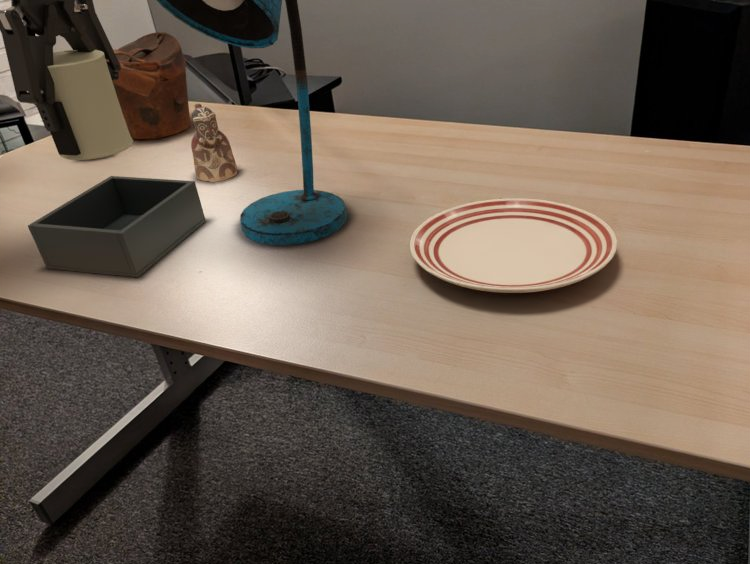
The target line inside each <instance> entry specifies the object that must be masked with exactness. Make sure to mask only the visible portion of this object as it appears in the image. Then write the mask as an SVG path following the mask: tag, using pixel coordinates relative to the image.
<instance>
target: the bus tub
mask: <svg viewBox="0 0 750 564" xmlns="http://www.w3.org/2000/svg"><path fill="white" fill-rule="evenodd" d="M206 220H207V219H206V217H205V213H204V210H203V206H202V202H201V198H200V196H199V191H198V187H197V184H196V181H195V180H183V179H167V178H166V179H165V178H153V177H152V178H150V177H137V176H136V177H134V176H119V175H118V176H117V175H110V176H108V177H107V178H105V179H103V180H102V181H100V182H98V183H97V184H95V185H93V186H92V187H89V188H88V189H87V190H85V191H83V192H81V193H80V194H78V195H77V196H75V197H73V198H72V199H70V200H68V201H67V202H65V203H63V204H61V205H60V206H58V207H56V208H55V209H53V210H52V211H49V212H48V213H46V214H44V215H43V216H41V217H40V218H38V219H36V220H34V221H33V222H31V223H30V224H28V225H27V228H28V230H29V232H30V235H31V236H32V239H33V241H34V243H35V245H36V247H37V250H38V252H39V254H40V257H41V258H42V261H43V263H44V265H45V268H46V269H49V270H58V271H68V272H69V271H70V272H77V273H78V272H79V273H89V274H101V275H109V276H120V277H127V278H129V277H131V278H140V277H141V276H142V275H143V274H144V273H146V272H147V271H149V269H150V268H151V267H152V266H154V265H155V264H156V263H158V262H159V261H160V260H161V259H162V258H164V257H165V256H166V255H167V254H168V253H170V252H171V251H172V250H173V249H174V248H175V247H177V246H178V245H179V244H181V243H182V242H183V241H184V240H185V239H186V238H188V237H189V236H190V235H191V234H192V233H194V232H195V231H196V230H197V229H198V228H200V227H201V226H203V224H204V223H206Z"/></svg>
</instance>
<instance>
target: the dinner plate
mask: <svg viewBox="0 0 750 564" xmlns="http://www.w3.org/2000/svg"><path fill="white" fill-rule="evenodd" d="M617 248H618V240H617V236H616V233H615V232H614V230H613V228H611V227H610V226H609V224H608V223H607V222H605V221H604V220H602V219H601V218H600V217H599V216H597V215H595V214H593V213H592V212H589V211H587V210H584V209H582V208H579V207H576V206H573V205H569V204H566V203H563V202H556V201H552V200H551V201H550V200H545V199H537V198H523V197H521V198H519V197H518V198H495V199H486V200H478V201H473V202H469V203H464V204H460V205H457V206H452V207H450V208H447V209H445V210H442V211H440V212H438V213H436V214H433V215H432V216H430V217H428V218H427V219H425V221H423V222H422V223H420V224H419V225H418V226H417V227H416V229H415V230H414V231H413V233H412V235H411V238H410V240H409V251H410V254H411V257H412V258H413V259H414V261H415V262H416V263H417V264H418V265H419V267H421V268H422V269H423V270H424V271H426V272H427V273H429V274H430V275H432V276H435V277H436V278H437V279H440V280H442V281H444V282H447V283H449V284H452V285H456V286H459V287H461V288H466V289H470V290H476V291H480V292H481V291H482V292H490V293H501V294H503V293H504V294H523V293H525V294H526V293H537V292H544V291H549V290H555V289H560V288H563V287H566V286H570V285H572V284H575V283H578V282H581V281H582V280H585V279H587V278H589V277H591V276H593V275H595V274H596V273H598V272H600V271H601V270H602V269H604V268H605V267H606V266H607V265H608V264H609V263H610V262H611V261H612V259H613V258H614V256H615V254H616V252H617Z"/></svg>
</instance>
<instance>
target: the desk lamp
mask: <svg viewBox="0 0 750 564" xmlns="http://www.w3.org/2000/svg"><path fill="white" fill-rule="evenodd" d="M284 1H285V8H286V13H287V14H286V15H287V20H288V26H289V27H288V28H289V34H290V42H291V49H292V57H293V66H294V74H295V84H296V95H297V107H298V121H299V132H300V133H299V134H300V148H301V149H300V150H301V166H302V167H301V168H302V187H303V189H294V190H288V191H282V192H277V193H272V194H270V195H267V196H264V197H261V198H259V199H257V200H255V201H254V202H252V203H250V204H249V205H247V206H246V207H245V208H244V209H243V210H242V212H241V213H240V215H239V216H240V218H239V219H240V220H239V222H240V226H241V231H242V233H243V234H244V236H245V237H246V238H247V239H249V240H251V241H253V242H257V243H259V244H262V245H268V246H269V245H271V246H293V245H294V246H295V245H301V244H306V243H310V242H314V241H318V240H321V239H323V238H325V237H328V236H331V235H332V234H334V233H335V232H337V231H338V230H340V229H341V228H342V227H343V226H344V225H345V224H346V223H347V222H346V221H347V219H348V214H347V213H348V212H347V207H346V204H345V201H344V199H342V198H341V197H340V196H339V195H337V194H334V193H332V192H328V191H324V190H317V189H315V188H314V186H315V185H314V162H313V161H314V159H313V143H312V141H313V139H312V126H311V112H310V111H311V109H310V99H309V98H310V97H309V83H308V75H307V67H306V66H307V65H306V57H305V49H304V38H303V30H302V22H301V17H300V9H299V4H298V0H284ZM156 2H157V3H158V4H159V5H160V6H161V7H162V8H163V9H165V10H166V11H167V12H168V13H169V14H171V15H172V16H173V17H174V18H175V19H177V20H179V21H180V22H182V23H183V24H185V25H186V26H188V27H189V28H191V29H193V30H195V31H197V32H199V33H201V34H203V35H205V36H207V37H209V38H212V39H214V40H217V41H219V42H221V43H224V44H228V45H230V46H231V45H232V46H234V47H235V46H236V47H239V48H244V49H245V48H246V49H266V48H268V47H271V46H273V45H274V44H275V43H276V42H278V39H279V33H280V24H281V23H280V22H281V13H282V5H283V0H156Z"/></svg>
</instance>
